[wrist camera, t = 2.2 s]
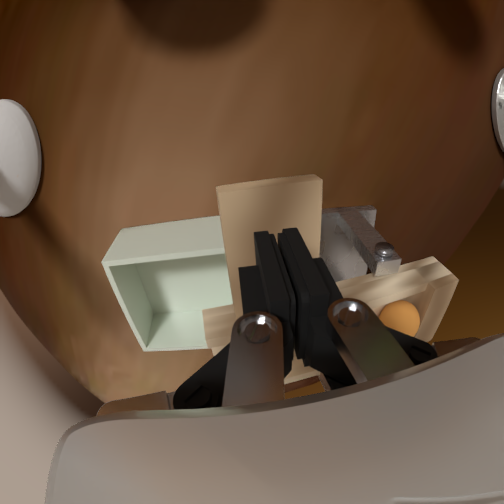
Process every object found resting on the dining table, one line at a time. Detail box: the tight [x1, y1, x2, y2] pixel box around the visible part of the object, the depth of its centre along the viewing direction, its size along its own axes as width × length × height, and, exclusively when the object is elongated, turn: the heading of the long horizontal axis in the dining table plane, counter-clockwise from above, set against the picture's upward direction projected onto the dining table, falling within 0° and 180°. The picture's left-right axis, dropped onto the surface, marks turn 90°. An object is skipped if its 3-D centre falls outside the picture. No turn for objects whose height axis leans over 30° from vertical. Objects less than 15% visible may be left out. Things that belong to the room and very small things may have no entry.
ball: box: [379, 300, 420, 337], centre depth 19 cm, size 4×4×4 cm
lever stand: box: [319, 206, 401, 282], centre depth 24 cm, size 6×11×9 cm, turn 4°
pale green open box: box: [102, 216, 233, 351], centre depth 25 cm, size 13×11×6 cm
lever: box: [202, 174, 459, 384], centre depth 17 cm, size 19×15×4 cm
